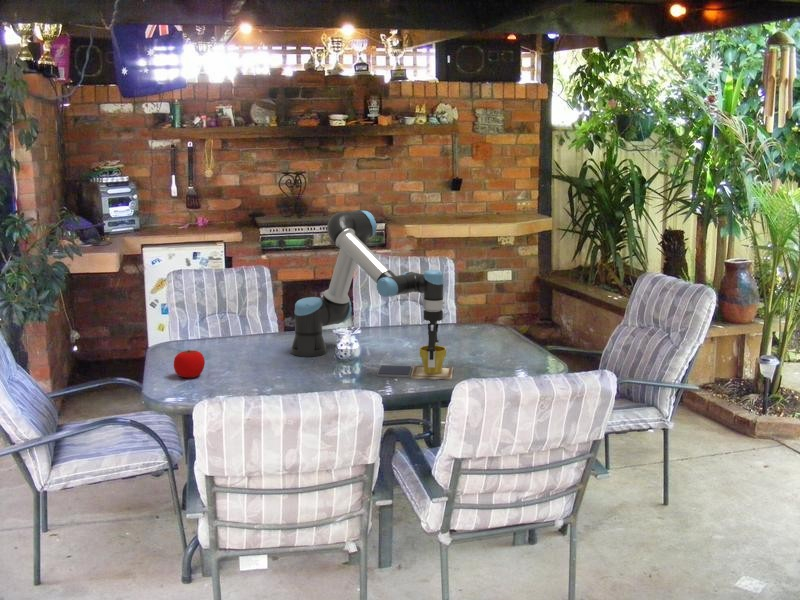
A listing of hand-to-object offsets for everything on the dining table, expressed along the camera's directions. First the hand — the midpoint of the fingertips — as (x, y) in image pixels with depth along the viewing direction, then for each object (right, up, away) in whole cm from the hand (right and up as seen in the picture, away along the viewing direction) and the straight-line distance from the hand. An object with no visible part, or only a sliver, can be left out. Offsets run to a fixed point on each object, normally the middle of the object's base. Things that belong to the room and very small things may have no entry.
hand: (432, 363), depth 361 cm
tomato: (-95, -5, -5) cm, 95 cm away
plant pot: (0, -4, 0) cm, 4 cm away
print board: (0, -4, +1) cm, 4 cm away
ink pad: (-15, -4, +2) cm, 16 cm away
